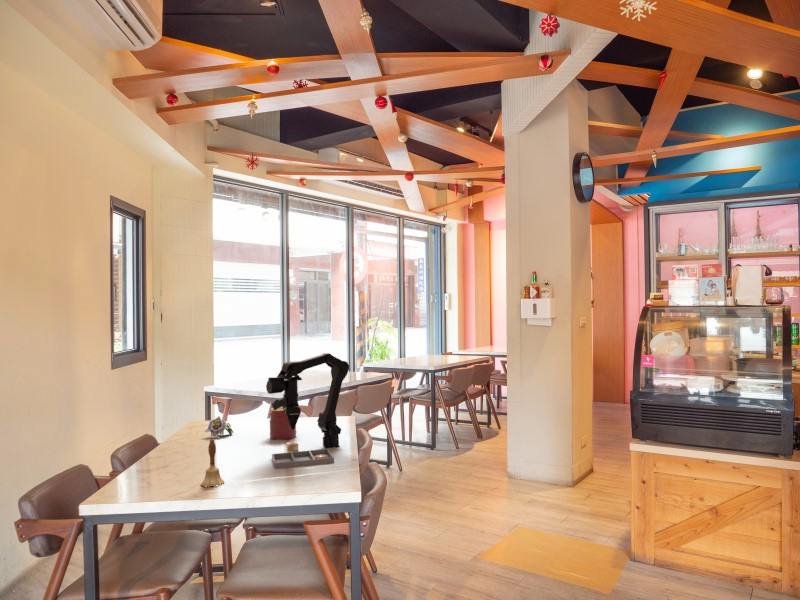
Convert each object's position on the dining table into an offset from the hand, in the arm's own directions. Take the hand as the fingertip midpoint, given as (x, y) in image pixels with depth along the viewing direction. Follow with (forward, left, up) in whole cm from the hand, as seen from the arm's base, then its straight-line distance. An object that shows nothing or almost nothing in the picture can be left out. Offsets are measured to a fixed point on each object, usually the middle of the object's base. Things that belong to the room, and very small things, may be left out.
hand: (291, 427), depth 252 cm
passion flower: (+31, -55, -12) cm, 64 cm away
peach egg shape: (-10, +14, -11) cm, 21 cm away
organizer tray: (-3, +14, -12) cm, 19 cm away
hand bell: (+32, +33, -12) cm, 47 cm away
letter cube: (0, 0, -11) cm, 11 cm away
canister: (+1, -38, -12) cm, 40 cm away
